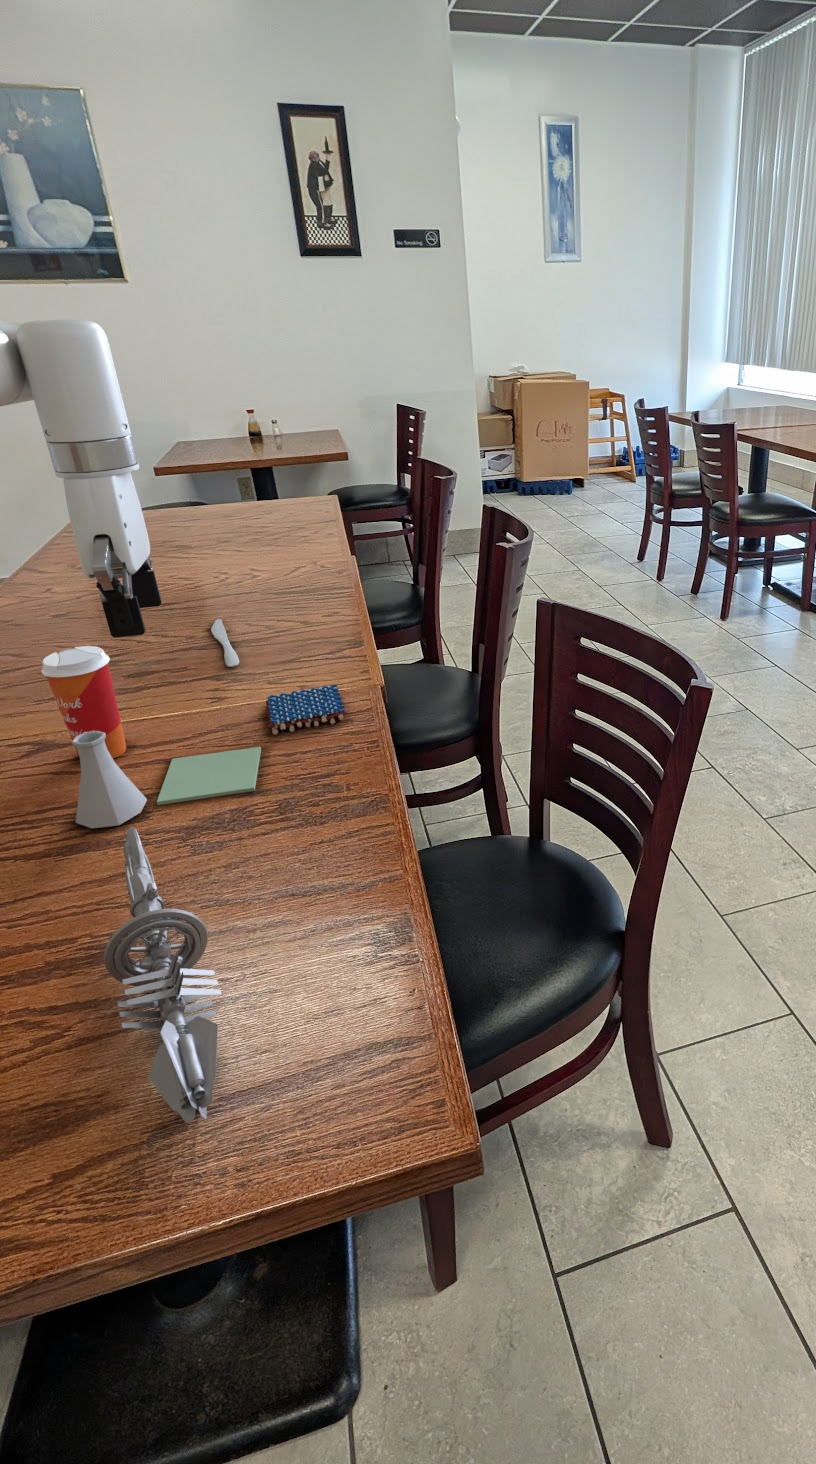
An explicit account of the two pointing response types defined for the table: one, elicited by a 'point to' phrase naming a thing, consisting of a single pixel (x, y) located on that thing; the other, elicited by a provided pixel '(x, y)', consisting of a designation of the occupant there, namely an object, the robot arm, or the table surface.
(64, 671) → the paper cup
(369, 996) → the table surface
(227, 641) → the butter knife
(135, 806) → the flask
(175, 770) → the coaster
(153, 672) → the table surface
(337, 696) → the woven mat
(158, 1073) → the spaceship
